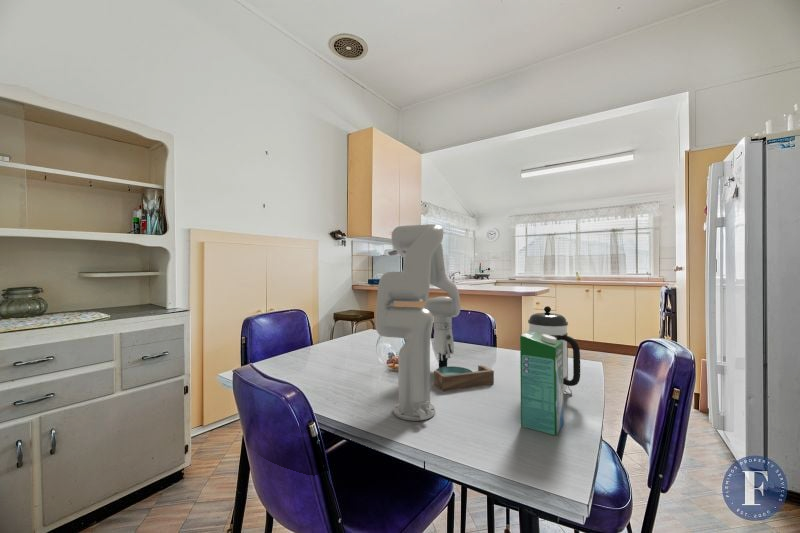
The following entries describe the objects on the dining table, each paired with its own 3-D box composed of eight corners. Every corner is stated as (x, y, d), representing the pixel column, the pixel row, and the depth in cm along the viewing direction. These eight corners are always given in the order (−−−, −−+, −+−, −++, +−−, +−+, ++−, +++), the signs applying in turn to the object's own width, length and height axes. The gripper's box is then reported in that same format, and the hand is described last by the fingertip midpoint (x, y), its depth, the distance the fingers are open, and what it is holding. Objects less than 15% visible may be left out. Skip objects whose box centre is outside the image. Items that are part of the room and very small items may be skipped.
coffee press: (522, 396, 112) (521, 307, 112) (528, 382, 126) (527, 303, 126) (580, 406, 104) (579, 310, 104) (579, 389, 118) (579, 305, 118)
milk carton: (556, 436, 85) (555, 338, 85) (520, 426, 91) (520, 334, 91) (563, 423, 92) (562, 333, 93) (530, 414, 98) (529, 329, 98)
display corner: (493, 384, 124) (493, 370, 124) (444, 391, 117) (443, 377, 117) (481, 377, 132) (481, 364, 132) (433, 384, 124) (433, 370, 124)
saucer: (481, 380, 129) (481, 373, 129) (451, 387, 121) (450, 379, 121) (456, 370, 142) (456, 364, 142) (428, 375, 134) (428, 369, 134)
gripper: (459, 328, 134) (460, 373, 134) (442, 322, 148) (442, 363, 148) (443, 329, 132) (443, 375, 132) (427, 323, 146) (427, 365, 146)
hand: (443, 369), depth 140 cm, fingers closed
